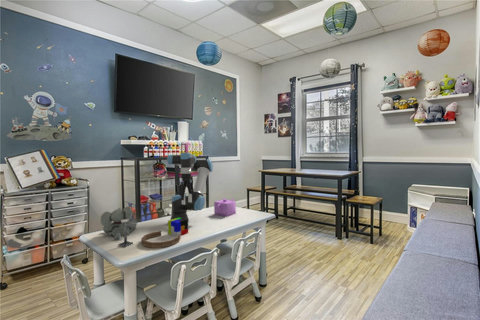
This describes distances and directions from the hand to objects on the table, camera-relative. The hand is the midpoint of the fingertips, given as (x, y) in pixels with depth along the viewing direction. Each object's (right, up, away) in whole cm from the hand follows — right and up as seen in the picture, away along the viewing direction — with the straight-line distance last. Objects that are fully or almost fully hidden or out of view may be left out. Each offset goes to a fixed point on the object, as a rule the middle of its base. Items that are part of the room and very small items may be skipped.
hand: (186, 203), depth 196 cm
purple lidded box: (+27, -18, +47) cm, 57 cm away
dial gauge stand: (-31, -22, -29) cm, 48 cm away
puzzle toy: (-4, -21, -8) cm, 23 cm away
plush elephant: (-47, -22, -9) cm, 52 cm away
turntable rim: (-13, -21, -25) cm, 35 cm away
